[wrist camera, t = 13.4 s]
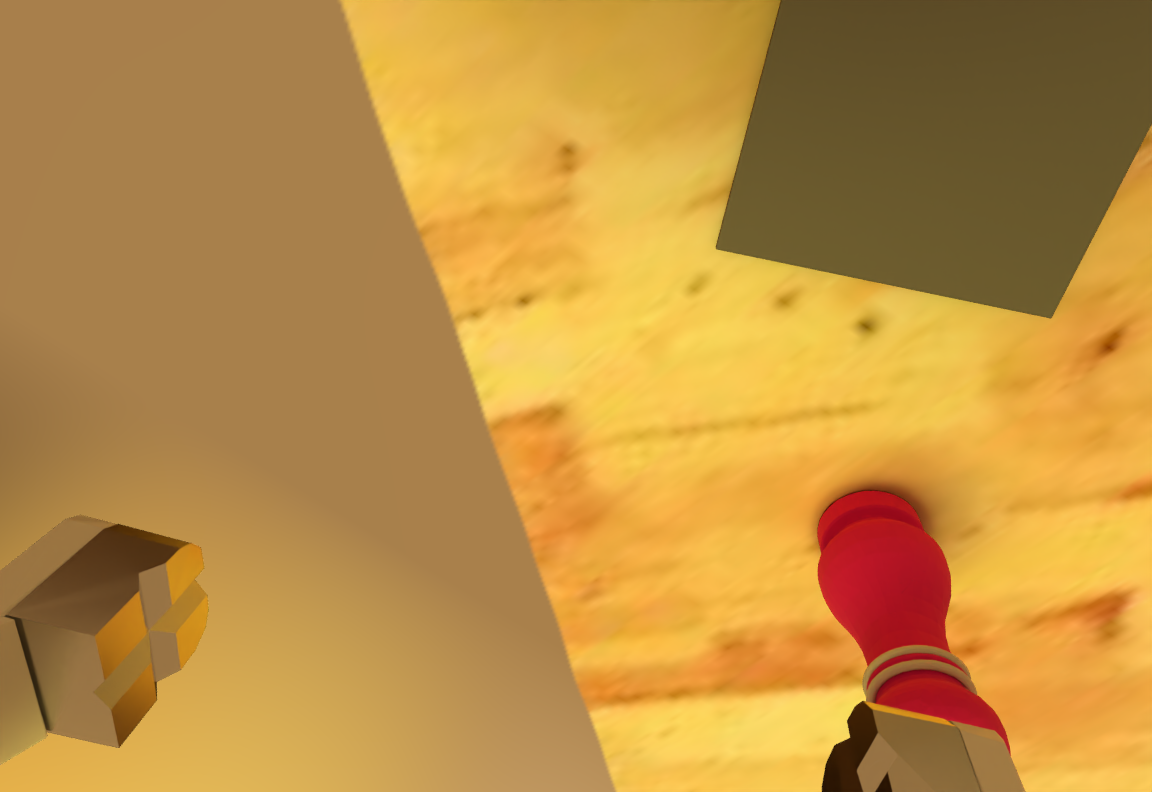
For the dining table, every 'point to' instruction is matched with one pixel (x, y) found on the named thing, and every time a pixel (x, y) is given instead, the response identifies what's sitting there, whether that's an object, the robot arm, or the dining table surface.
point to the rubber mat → (943, 141)
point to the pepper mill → (897, 607)
